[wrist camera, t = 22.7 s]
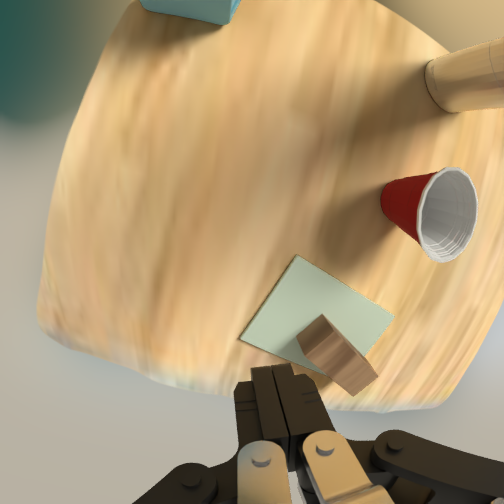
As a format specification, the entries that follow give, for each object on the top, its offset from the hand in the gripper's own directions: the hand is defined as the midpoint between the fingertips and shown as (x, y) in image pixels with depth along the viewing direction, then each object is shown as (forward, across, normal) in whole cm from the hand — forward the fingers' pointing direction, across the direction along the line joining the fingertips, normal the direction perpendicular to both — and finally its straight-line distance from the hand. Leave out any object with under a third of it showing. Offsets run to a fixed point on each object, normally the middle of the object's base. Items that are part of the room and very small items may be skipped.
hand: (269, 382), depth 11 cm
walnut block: (+24, -10, +14) cm, 29 cm away
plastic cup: (+27, -23, -3) cm, 36 cm away
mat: (+27, -12, +15) cm, 33 cm away
